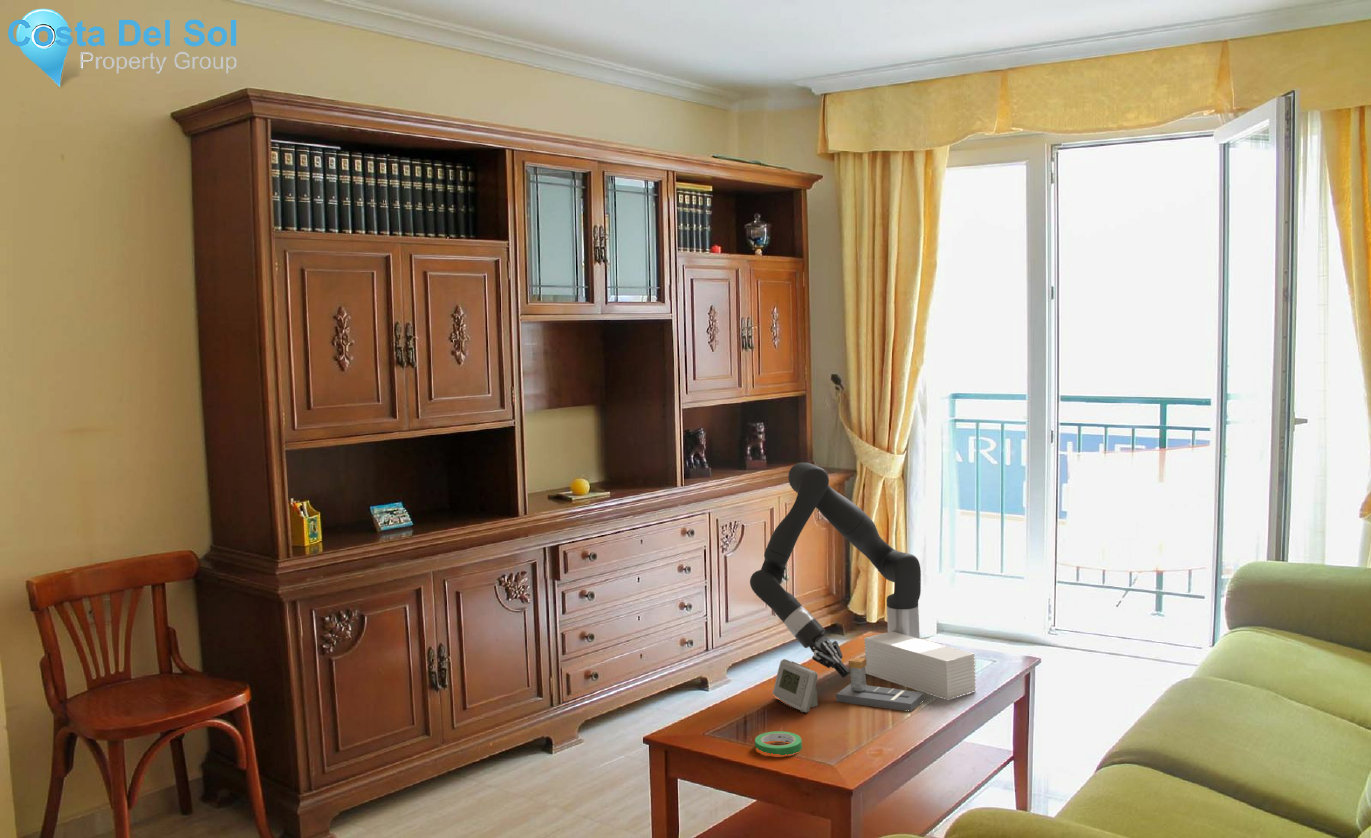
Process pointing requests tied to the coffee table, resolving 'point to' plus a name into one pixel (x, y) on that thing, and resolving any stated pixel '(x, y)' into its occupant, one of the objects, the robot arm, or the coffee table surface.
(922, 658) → the stack of papers
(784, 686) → the digital clock
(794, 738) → the tape roll
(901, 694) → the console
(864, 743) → the coffee table surface
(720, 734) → the coffee table surface
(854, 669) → the fader
